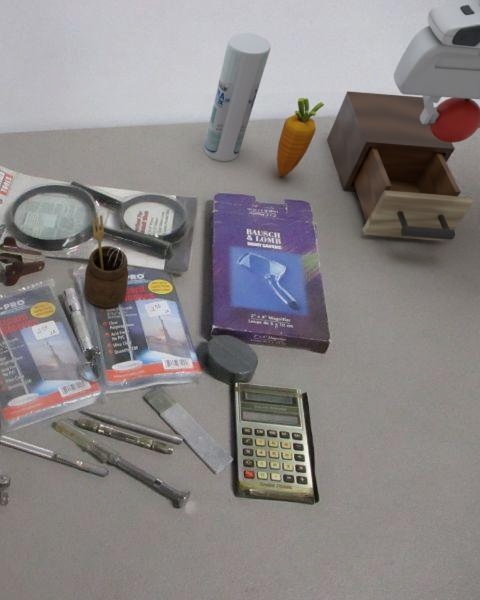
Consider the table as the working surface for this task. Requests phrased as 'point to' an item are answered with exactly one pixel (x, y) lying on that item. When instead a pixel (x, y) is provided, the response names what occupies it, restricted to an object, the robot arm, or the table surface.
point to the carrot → (296, 137)
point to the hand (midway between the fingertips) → (452, 123)
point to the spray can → (236, 95)
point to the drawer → (409, 194)
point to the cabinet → (379, 130)
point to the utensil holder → (105, 272)
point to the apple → (456, 120)
